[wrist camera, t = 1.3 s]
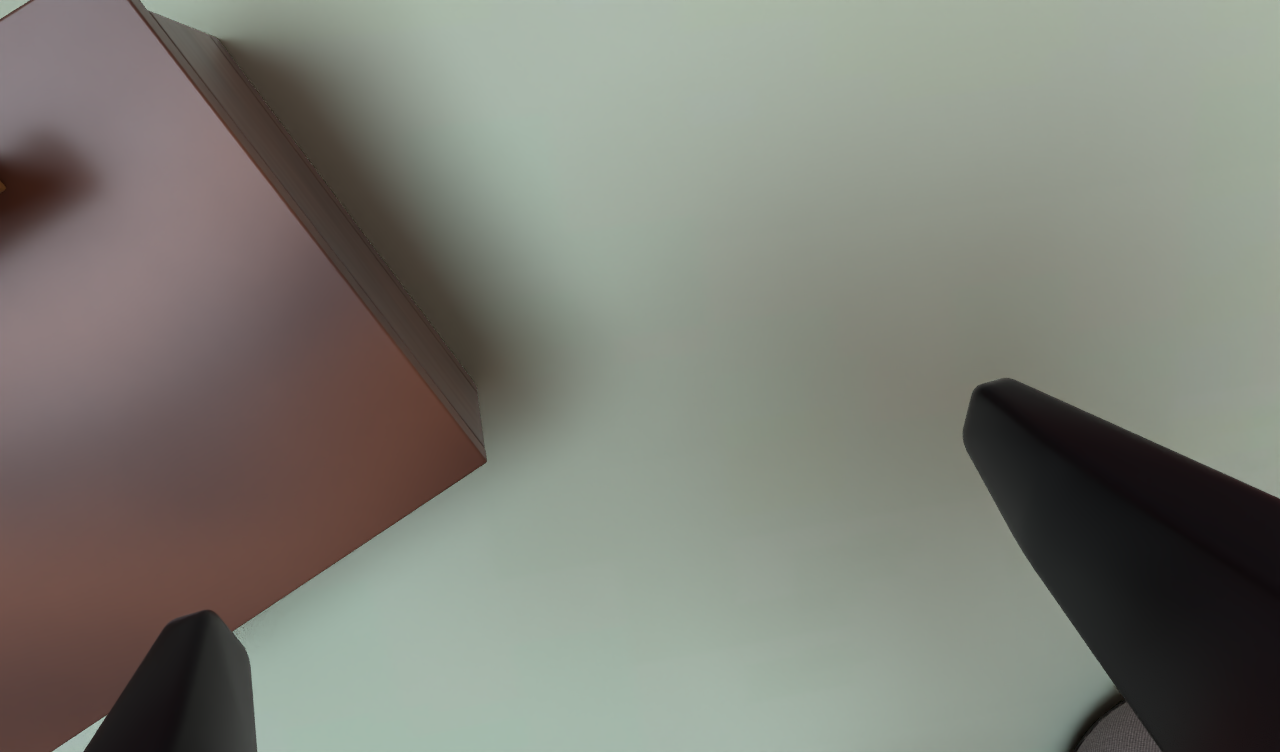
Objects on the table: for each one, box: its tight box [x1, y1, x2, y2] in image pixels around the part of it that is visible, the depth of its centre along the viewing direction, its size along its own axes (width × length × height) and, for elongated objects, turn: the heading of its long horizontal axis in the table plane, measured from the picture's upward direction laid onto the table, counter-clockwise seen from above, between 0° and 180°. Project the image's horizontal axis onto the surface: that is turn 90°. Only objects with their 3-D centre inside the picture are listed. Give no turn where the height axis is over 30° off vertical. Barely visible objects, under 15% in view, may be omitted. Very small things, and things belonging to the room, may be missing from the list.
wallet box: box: [148, 11, 485, 448], centre depth 19 cm, size 11×13×5 cm
